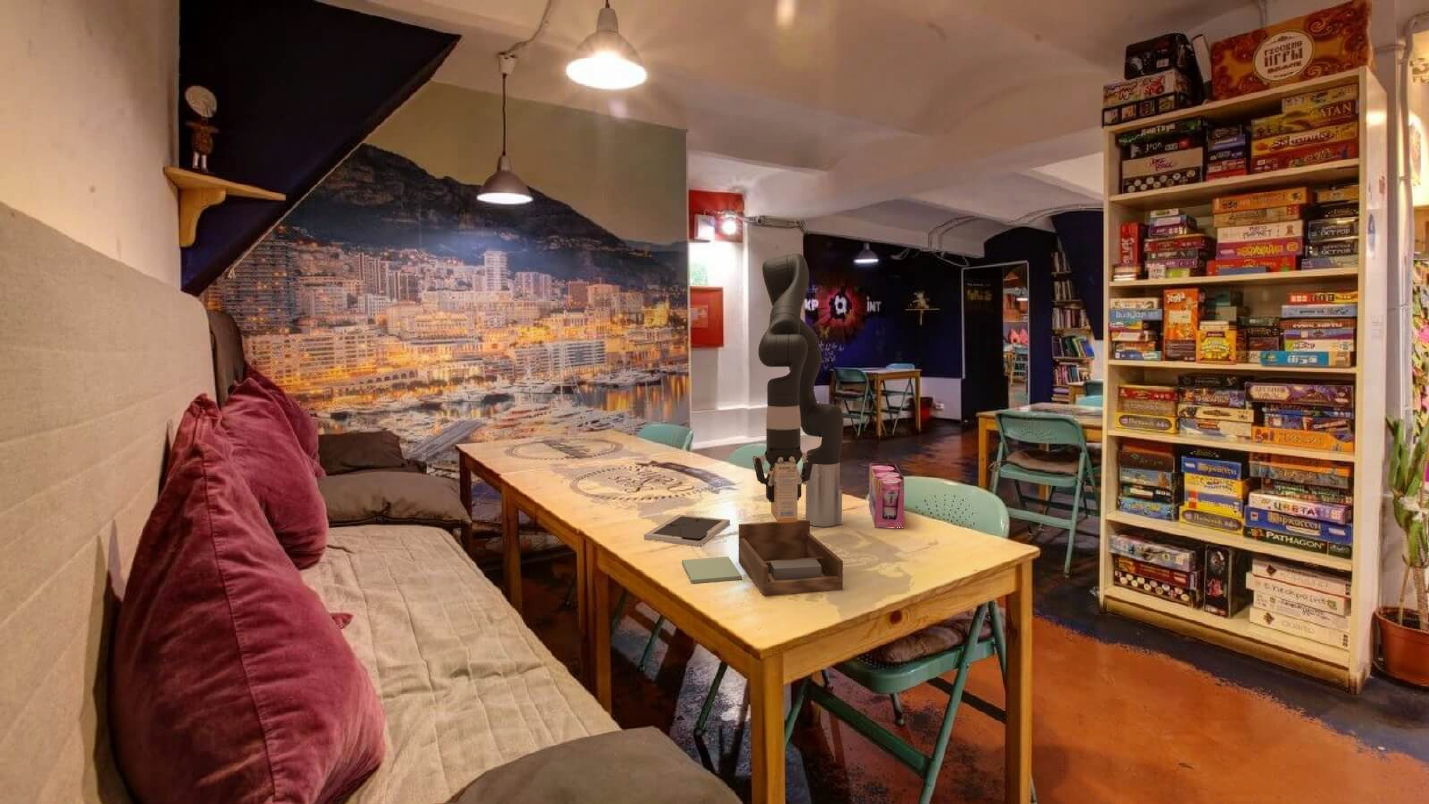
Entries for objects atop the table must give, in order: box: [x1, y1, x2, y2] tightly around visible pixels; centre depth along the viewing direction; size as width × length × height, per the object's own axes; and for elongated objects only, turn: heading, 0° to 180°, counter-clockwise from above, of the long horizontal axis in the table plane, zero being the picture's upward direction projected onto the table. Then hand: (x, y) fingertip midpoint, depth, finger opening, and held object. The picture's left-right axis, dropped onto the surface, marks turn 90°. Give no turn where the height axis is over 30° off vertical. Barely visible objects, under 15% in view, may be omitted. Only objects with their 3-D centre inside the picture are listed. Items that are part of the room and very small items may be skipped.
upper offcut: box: [770, 559, 821, 580], centre depth 145 cm, size 10×5×2 cm, turn 95°
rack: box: [738, 519, 844, 597], centre depth 151 cm, size 17×21×9 cm
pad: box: [681, 556, 743, 584], centre depth 154 cm, size 11×13×1 cm
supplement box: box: [770, 461, 799, 523], centre depth 153 cm, size 8×5×13 cm, turn 5°
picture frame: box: [643, 514, 731, 547], centre depth 184 cm, size 16×3×21 cm
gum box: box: [868, 463, 905, 529], centre depth 195 cm, size 24×8×14 cm, turn 172°
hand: (783, 500), depth 153 cm, fingers closed on supplement box, 5 cm apart
